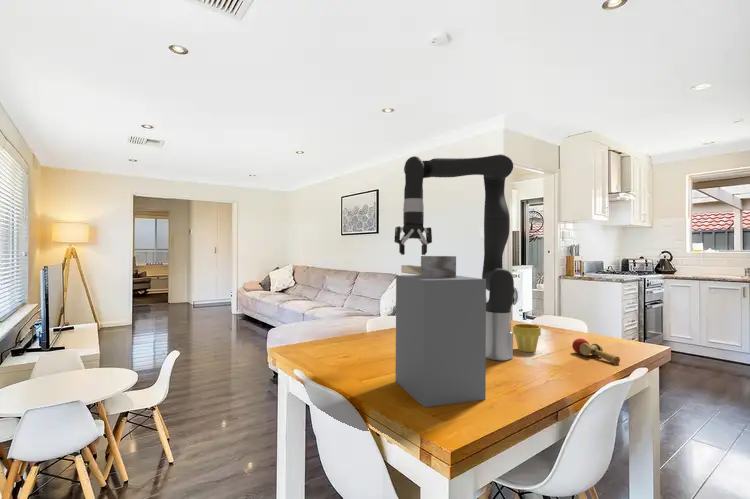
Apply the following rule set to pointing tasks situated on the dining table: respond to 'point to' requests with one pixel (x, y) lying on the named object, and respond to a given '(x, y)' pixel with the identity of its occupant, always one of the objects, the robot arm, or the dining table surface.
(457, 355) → the tall grey box
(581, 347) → the kendama
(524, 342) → the plant pot
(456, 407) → the dining table surface
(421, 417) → the dining table surface
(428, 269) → the tan and grey block
